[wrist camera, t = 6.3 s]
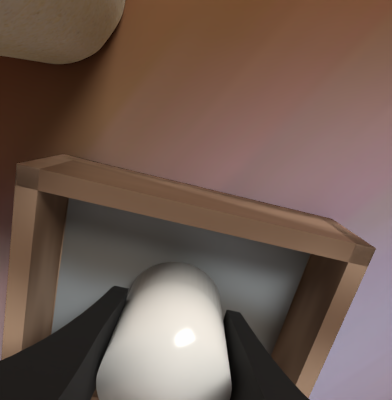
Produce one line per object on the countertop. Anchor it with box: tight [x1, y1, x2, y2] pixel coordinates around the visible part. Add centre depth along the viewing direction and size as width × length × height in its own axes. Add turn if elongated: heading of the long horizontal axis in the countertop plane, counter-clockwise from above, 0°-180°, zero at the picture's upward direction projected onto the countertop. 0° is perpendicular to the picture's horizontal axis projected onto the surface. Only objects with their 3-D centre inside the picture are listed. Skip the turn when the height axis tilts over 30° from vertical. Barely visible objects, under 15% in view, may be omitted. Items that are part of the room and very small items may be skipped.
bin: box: [1, 154, 376, 400], centre depth 14 cm, size 20×14×4 cm, turn 166°
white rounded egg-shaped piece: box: [96, 262, 232, 400], centre depth 11 cm, size 4×4×4 cm
